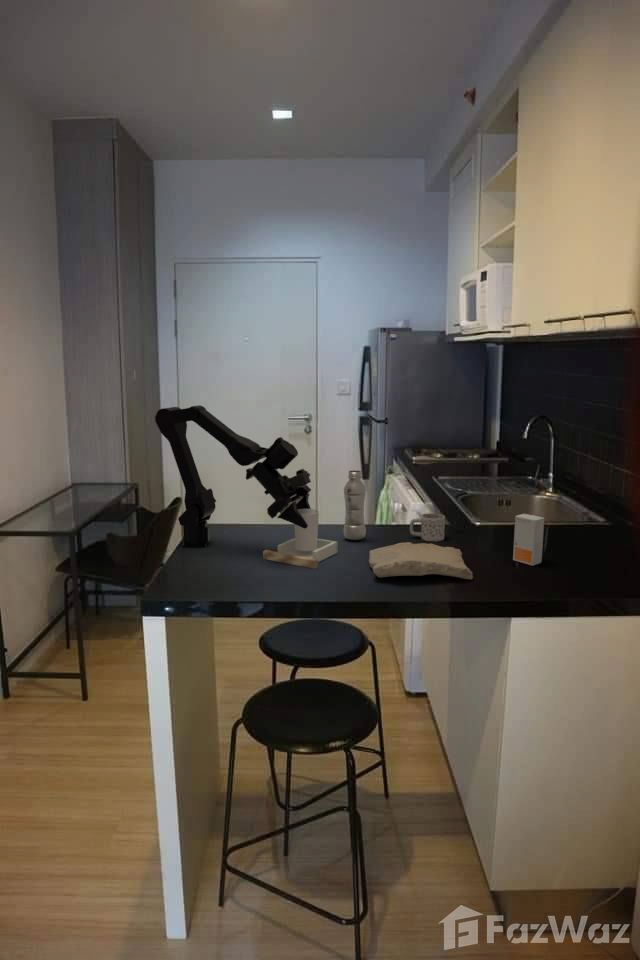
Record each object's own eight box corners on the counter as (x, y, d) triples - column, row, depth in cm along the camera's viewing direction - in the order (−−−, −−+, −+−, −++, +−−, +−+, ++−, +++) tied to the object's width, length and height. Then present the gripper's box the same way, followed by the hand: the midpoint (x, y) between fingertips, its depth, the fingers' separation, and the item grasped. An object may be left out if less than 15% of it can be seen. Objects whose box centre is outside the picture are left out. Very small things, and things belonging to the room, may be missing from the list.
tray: (313, 564, 170) (313, 553, 170) (275, 557, 176) (275, 546, 176) (337, 552, 180) (337, 541, 180) (300, 546, 186) (300, 535, 186)
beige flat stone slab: (476, 590, 154) (461, 556, 174) (476, 560, 152) (461, 529, 172) (370, 592, 155) (367, 558, 175) (370, 563, 153) (366, 532, 173)
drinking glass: (323, 549, 177) (323, 512, 175) (300, 553, 174) (300, 515, 172) (311, 543, 182) (311, 507, 181) (289, 546, 179) (289, 510, 177)
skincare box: (512, 560, 172) (514, 515, 170) (521, 557, 175) (524, 513, 173) (532, 566, 168) (535, 520, 166) (542, 562, 170) (545, 517, 168)
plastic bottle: (366, 536, 196) (366, 469, 192) (365, 543, 189) (365, 473, 185) (344, 536, 196) (344, 469, 192) (342, 542, 190) (342, 473, 186)
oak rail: (263, 558, 175) (262, 551, 175) (266, 557, 176) (266, 549, 176) (314, 568, 167) (314, 561, 166) (317, 567, 168) (317, 559, 168)
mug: (442, 535, 197) (442, 513, 196) (445, 541, 190) (446, 518, 189) (408, 535, 197) (408, 513, 196) (410, 541, 191) (411, 518, 189)
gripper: (278, 466, 166) (320, 513, 165) (304, 455, 183) (342, 497, 182) (249, 495, 170) (290, 540, 169) (277, 481, 187) (314, 523, 186)
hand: (310, 524), depth 176 cm, fingers closed on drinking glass, 6 cm apart
